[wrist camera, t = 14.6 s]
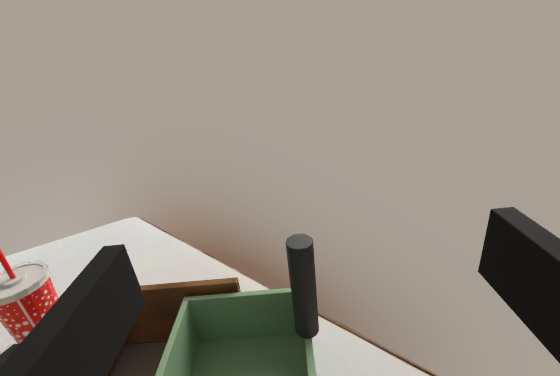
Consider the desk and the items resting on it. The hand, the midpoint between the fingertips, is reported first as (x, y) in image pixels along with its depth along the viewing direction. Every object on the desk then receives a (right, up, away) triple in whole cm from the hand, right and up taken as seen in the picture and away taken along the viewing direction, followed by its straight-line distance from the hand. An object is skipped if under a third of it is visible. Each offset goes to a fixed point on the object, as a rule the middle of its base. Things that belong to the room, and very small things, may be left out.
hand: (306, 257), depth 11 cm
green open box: (-4, -16, +18) cm, 24 cm away
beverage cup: (-28, -15, +25) cm, 41 cm away
